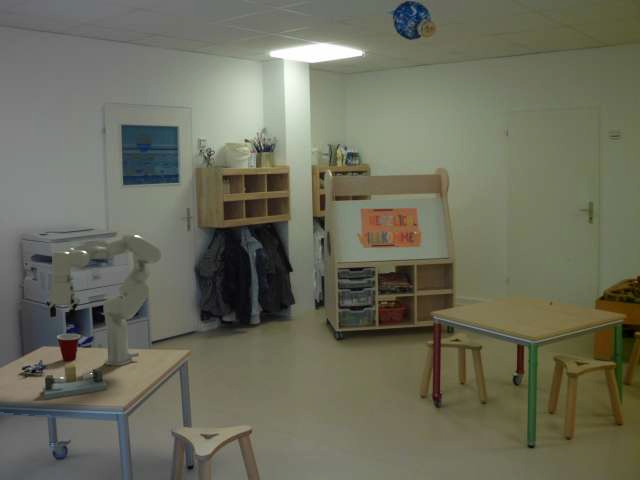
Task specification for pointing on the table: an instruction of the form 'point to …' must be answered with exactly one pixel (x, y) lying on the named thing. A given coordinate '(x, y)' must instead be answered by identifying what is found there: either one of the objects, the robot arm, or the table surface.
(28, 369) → the toy airplane
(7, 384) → the table surface
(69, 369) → the olive yellow block
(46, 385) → the shaft
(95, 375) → the shaft
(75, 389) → the board
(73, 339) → the plastic cup
